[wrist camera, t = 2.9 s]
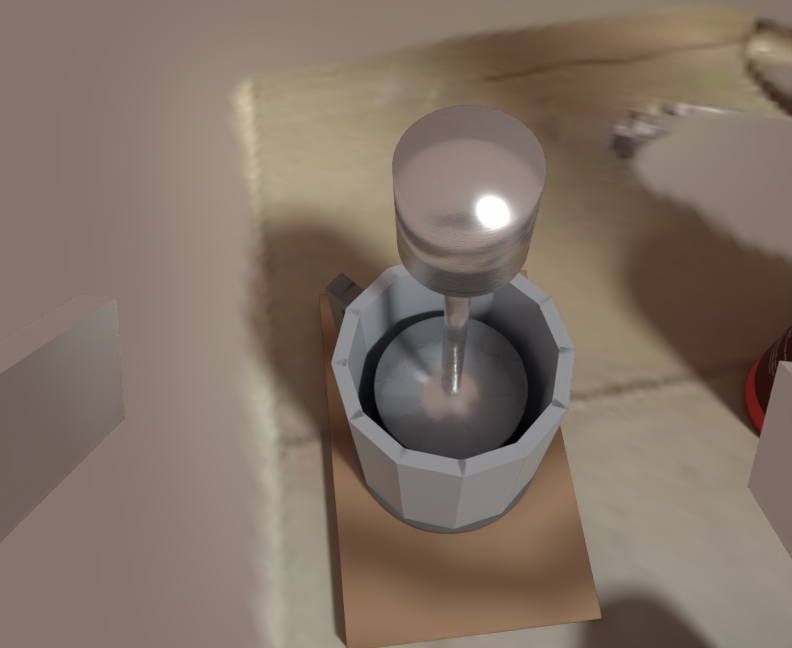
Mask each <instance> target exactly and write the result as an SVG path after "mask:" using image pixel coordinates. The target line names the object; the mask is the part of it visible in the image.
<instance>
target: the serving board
mask: <svg viewBox="0 0 792 648" xmlns="http://www.w3.org/2000/svg"><path fill="white" fill-rule="evenodd" d="M519 273H520V274H521V275H523V276H524V277H525V278H527V279H528V276H527V271H526V270H524V271H520V272H519ZM362 290H365V289H362ZM319 299H320V312H321V325H322V337H323V350H324V362H325V375H326V388H327V400H328V413H329V425H330V438H331V451H332V463H333V476H334V489H335V501H336V514H337V526H338V539H339V552H340V564H341V577H342V589H343V602H344V615H345V627H346V640H347V648H376V647H384V646H392V645H400V644H408V643H416V642H424V641H432V640H440V639H448V638H456V637H464V636H472V635H480V634H488V633H496V632H503V631H511V630H519V629H527V628H535V627H543V626H551V625H559V624H567V623H575V622H583V621H591V620H598V619H600V618H602V617H601V612H600V608H599V603H598V598H597V594H596V589H595V585H594V580H593V575H592V571H591V566H590V561H589V557H588V552H587V548H586V543H585V538H584V534H583V529H582V525H581V520H580V515H579V511H578V506H577V502H576V497H575V492H574V488H573V483H572V479H571V474H570V469H569V465H568V460H567V455H566V451H565V446H564V442H563V437H562V432H561V428H560V425H559V427H558V429H557V431H556V433H555V435H554V437H553V439H552V441H551V443H550V445H549V447H548V449H547V451H546V452H545V454H544V456H543V458H542V460H541V462H540V464H539V466H538V468H537V470H536V473H535V476H534V478H533V480H532V482H531V484H530V486H529V487H528V489H527V491H526V493H525V494H524V496H523V497H522V498H521V500H520V501H519V502H518V503H517V504H516V505H515V506H514V507H513V509H512V510H511V511H509V512H508V513H507V514H506V515H504V516H503V517H502V518H500V519H499V520H497V521H495V522H493V523H492V524H490V525H488V526H485V527H483V528H480V529H478V530H474V531H470V532H466V533H458V534H438V533H431V532H426V531H423V530H419V529H416V528H414V527H411V526H409V525H407V524H404V523H403V522H401V521H399V520H398V519H396V518H394V517H393V516H392V515H390V514H389V513H388V512H387V511H386V510H384V509H383V508H382V507H381V506H380V505H379V504H378V503H377V501H376V500H375V499H374V498H373V496H372V495H371V494H370V492H369V491H368V489H367V487H366V486H365V484H364V482H363V480H362V478H361V475H360V472H359V469H358V467H357V463H356V459H355V455H354V449H353V436H352V432H351V429H350V426H349V422H348V419H347V415H346V412H345V409H344V405H343V402H342V398H341V395H340V392H339V388H338V385H337V382H336V378H335V375H334V371H333V368H332V365H331V362H332V358H333V355H334V351H335V348H336V344H337V340H338V336H337V332H336V328H335V324H334V320H333V316H332V312H331V308H330V304H329V300H328V296H327V294H320V295H319Z"/></svg>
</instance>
